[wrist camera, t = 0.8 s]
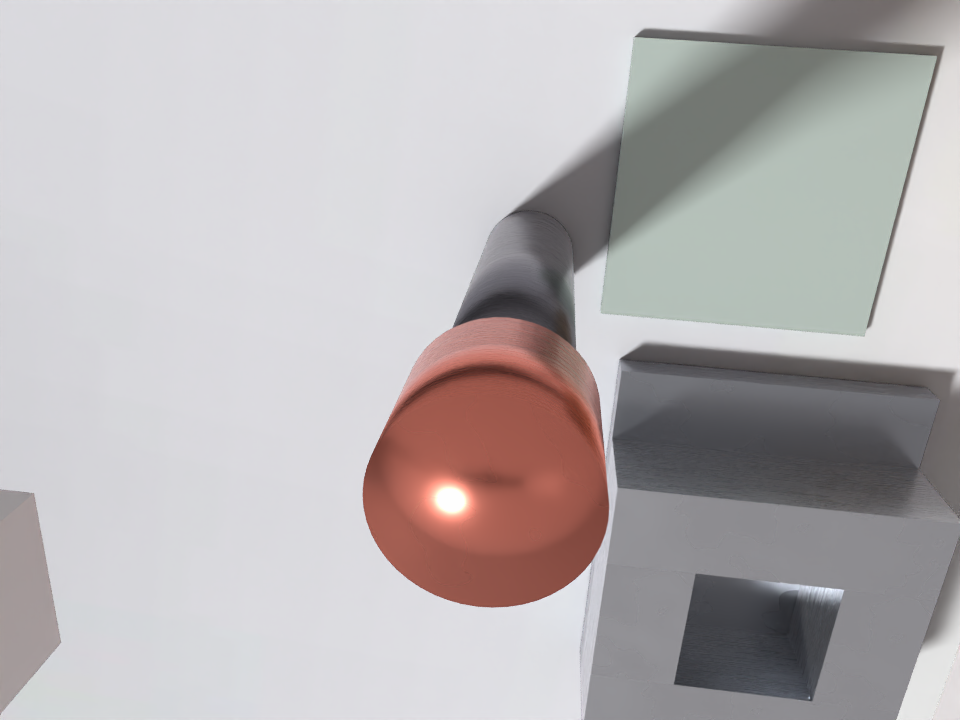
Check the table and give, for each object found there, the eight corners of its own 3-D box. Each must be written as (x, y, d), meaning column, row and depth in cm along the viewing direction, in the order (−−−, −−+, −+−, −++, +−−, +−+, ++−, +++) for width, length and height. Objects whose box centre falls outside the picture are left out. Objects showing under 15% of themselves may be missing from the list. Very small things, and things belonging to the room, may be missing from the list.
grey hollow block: (579, 650, 38) (581, 735, 33) (619, 359, 32) (628, 413, 27) (838, 681, 37) (877, 773, 32) (926, 387, 31) (990, 447, 26)
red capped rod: (469, 303, 32) (362, 593, 15) (476, 193, 30) (363, 382, 13) (579, 312, 31) (594, 619, 15) (592, 202, 30) (624, 407, 13)
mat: (600, 310, 31) (600, 313, 31) (634, 37, 27) (634, 37, 27) (860, 332, 30) (864, 336, 30) (932, 55, 27) (937, 56, 26)
